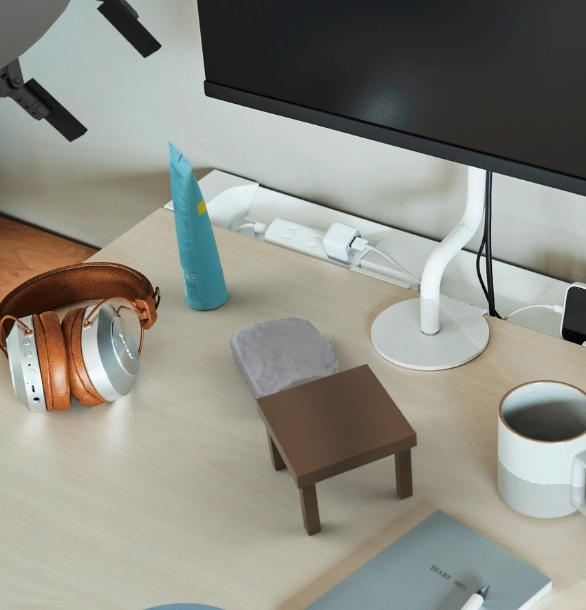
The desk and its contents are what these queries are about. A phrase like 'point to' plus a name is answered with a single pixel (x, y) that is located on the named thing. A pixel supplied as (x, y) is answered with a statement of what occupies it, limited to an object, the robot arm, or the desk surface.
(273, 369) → the stone block
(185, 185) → the tube
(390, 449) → the stool
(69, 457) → the desk surface
